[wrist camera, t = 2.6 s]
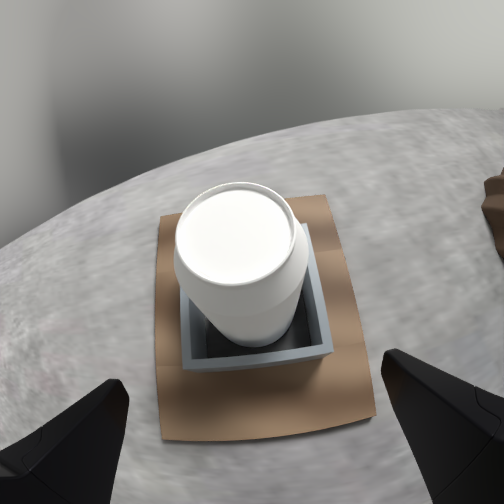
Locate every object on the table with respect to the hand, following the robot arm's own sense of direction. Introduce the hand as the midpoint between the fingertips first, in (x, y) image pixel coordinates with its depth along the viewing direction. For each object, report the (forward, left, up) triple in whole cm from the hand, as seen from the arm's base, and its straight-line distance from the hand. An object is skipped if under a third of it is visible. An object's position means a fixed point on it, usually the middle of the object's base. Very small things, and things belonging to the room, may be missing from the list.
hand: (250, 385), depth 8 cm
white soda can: (+2, +6, -12) cm, 14 cm away
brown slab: (+2, +6, -12) cm, 13 cm away
